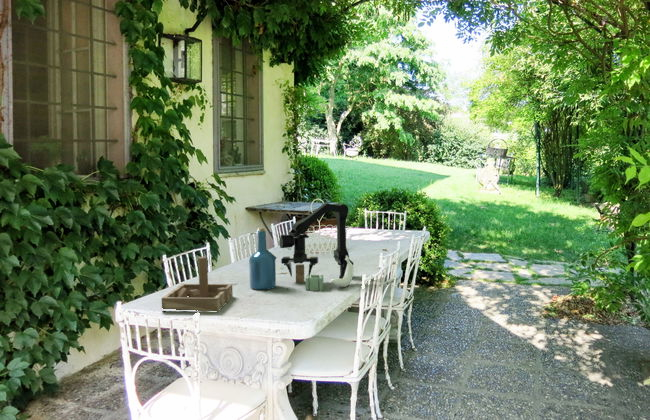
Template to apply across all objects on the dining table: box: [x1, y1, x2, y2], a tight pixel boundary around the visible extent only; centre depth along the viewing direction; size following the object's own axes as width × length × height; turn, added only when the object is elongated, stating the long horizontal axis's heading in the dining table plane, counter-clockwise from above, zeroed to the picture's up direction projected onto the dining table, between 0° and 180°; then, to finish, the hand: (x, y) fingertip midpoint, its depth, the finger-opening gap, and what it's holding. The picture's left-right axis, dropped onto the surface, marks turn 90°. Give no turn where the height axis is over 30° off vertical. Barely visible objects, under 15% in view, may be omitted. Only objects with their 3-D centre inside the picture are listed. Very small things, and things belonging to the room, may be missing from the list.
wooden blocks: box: [176, 256, 229, 304], centre depth 257 cm, size 17×20×20 cm
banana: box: [330, 255, 354, 288], centre depth 288 cm, size 5×19×15 cm, turn 153°
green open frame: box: [305, 274, 324, 292], centre depth 285 cm, size 8×8×6 cm
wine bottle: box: [248, 227, 277, 291], centre depth 288 cm, size 14×13×30 cm
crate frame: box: [161, 283, 234, 312], centre depth 258 cm, size 27×24×6 cm
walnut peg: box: [295, 263, 305, 284], centre depth 299 cm, size 4×4×9 cm
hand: (300, 276), depth 299 cm, fingers open, 9 cm apart
